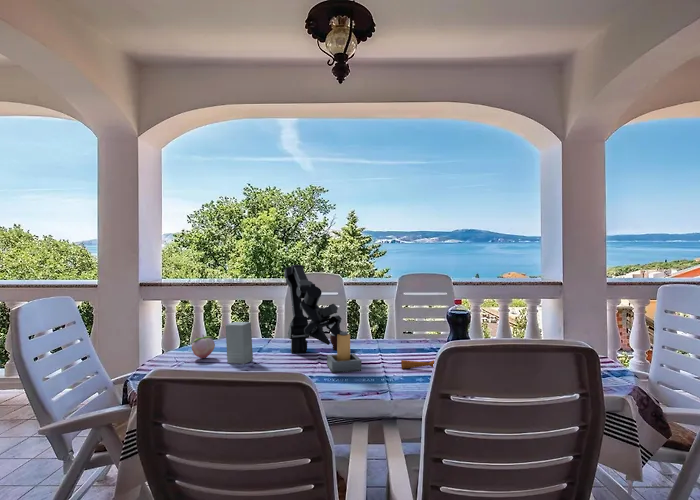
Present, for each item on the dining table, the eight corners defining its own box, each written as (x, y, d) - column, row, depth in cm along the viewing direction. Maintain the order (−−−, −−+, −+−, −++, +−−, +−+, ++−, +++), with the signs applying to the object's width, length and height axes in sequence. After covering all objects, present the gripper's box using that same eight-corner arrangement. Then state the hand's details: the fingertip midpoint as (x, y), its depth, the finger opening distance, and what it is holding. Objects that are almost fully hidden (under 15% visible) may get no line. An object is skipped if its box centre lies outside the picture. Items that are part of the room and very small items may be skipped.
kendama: (402, 356, 162) (455, 354, 157) (403, 372, 160) (456, 371, 156) (400, 356, 156) (455, 355, 151) (401, 373, 155) (456, 372, 150)
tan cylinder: (338, 368, 155) (338, 333, 155) (336, 365, 160) (336, 331, 160) (351, 367, 156) (351, 333, 157) (348, 364, 161) (348, 330, 161)
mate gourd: (339, 351, 185) (339, 317, 185) (325, 349, 190) (325, 316, 190) (349, 348, 191) (349, 315, 191) (335, 346, 196) (335, 314, 196)
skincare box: (253, 360, 169) (253, 321, 169) (243, 365, 162) (243, 324, 162) (235, 359, 172) (235, 320, 172) (224, 363, 165) (224, 323, 165)
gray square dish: (332, 373, 152) (332, 362, 152) (326, 365, 162) (326, 354, 162) (361, 371, 154) (361, 360, 154) (354, 363, 165) (354, 353, 165)
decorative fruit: (204, 355, 178) (205, 331, 179) (218, 357, 174) (218, 333, 174) (186, 359, 170) (186, 335, 171) (199, 362, 166) (199, 337, 166)
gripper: (310, 300, 155) (335, 332, 150) (337, 295, 171) (361, 324, 165) (293, 319, 159) (317, 351, 154) (322, 313, 175) (344, 342, 170)
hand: (336, 341), depth 160 cm, fingers open, 9 cm apart
